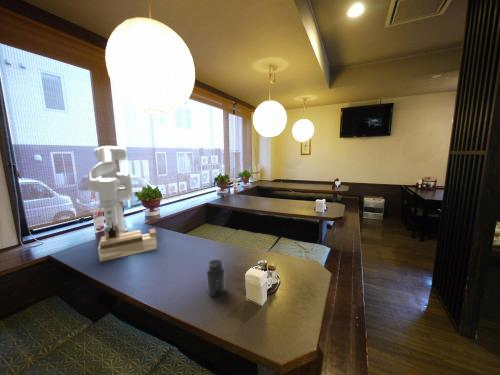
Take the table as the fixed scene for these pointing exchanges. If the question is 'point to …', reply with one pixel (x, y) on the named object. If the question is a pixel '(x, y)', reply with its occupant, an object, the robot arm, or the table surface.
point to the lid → (119, 236)
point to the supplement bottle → (215, 278)
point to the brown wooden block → (152, 232)
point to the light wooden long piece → (126, 247)
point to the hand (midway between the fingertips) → (112, 235)
